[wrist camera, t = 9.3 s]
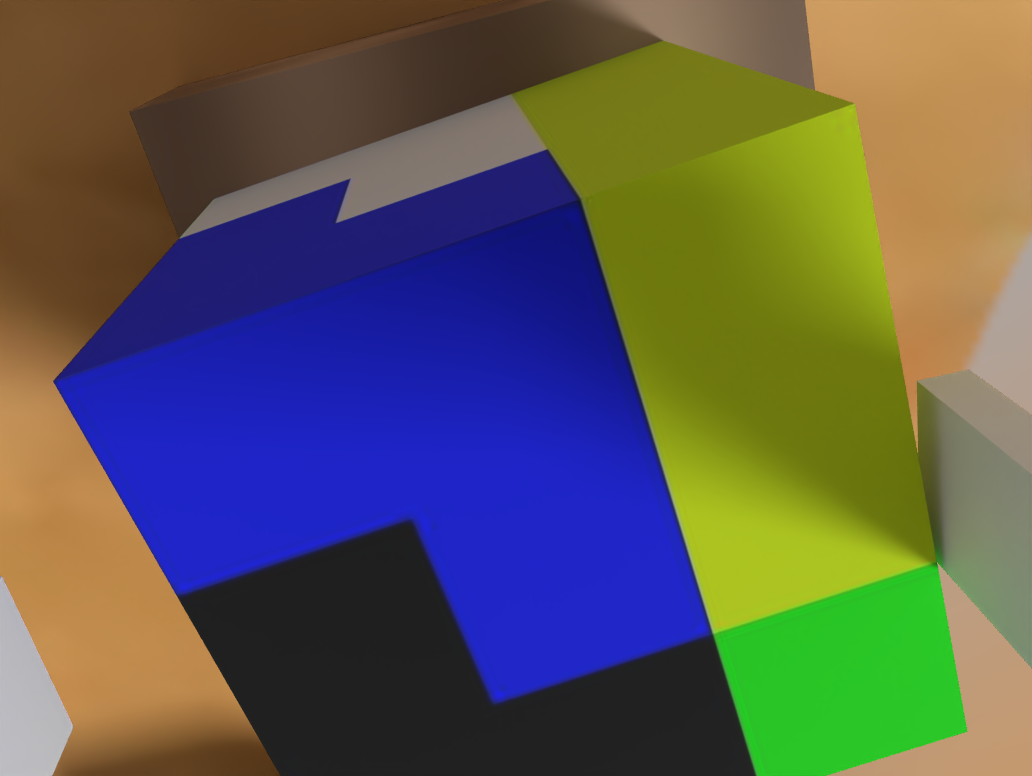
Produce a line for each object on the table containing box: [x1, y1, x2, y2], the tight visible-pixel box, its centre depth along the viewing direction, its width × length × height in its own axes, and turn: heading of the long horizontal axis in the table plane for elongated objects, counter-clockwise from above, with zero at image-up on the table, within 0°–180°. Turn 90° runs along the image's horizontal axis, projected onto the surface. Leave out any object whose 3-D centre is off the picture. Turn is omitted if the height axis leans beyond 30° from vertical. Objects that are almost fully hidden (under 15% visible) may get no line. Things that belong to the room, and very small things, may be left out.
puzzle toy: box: [53, 41, 967, 776], centre depth 18 cm, size 10×10×10 cm
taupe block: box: [130, 0, 815, 238], centre depth 25 cm, size 14×14×5 cm
